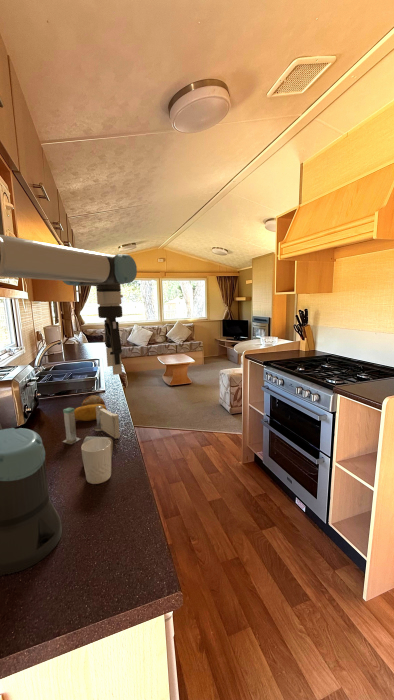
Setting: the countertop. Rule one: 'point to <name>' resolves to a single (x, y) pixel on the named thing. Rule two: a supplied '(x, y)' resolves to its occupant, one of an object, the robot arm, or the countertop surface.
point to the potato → (87, 412)
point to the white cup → (97, 460)
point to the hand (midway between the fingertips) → (114, 369)
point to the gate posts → (71, 427)
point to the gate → (109, 423)
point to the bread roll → (93, 401)
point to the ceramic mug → (96, 438)
